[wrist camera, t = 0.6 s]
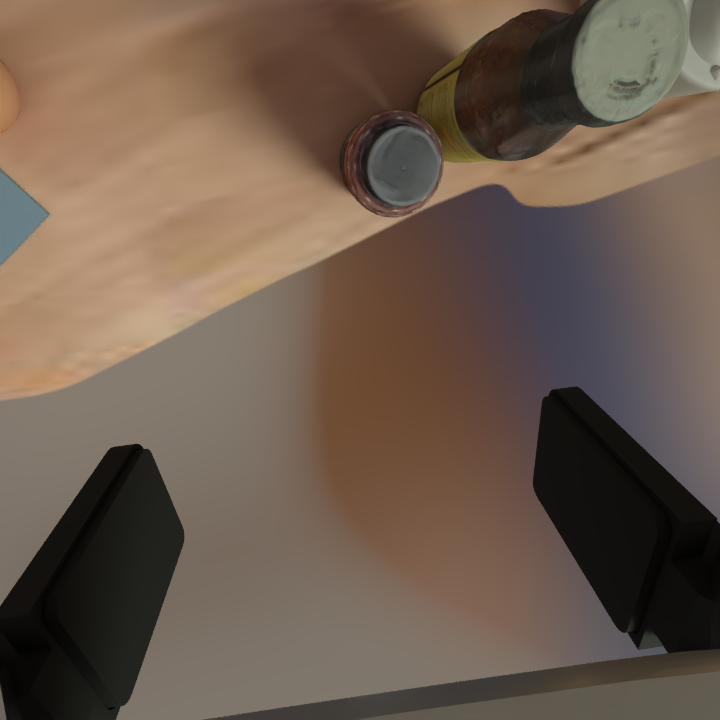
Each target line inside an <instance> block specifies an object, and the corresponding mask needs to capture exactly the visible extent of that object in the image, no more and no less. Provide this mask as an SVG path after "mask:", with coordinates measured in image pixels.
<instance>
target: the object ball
mask: <svg viewBox="0 0 720 720" xmlns="http://www.w3.org/2000/svg"><path fill="white" fill-rule="evenodd" d="M20 107H21V98H20V92H19V88H18V86H17V83H16V81H15V79H14V77H13V75H12V74H11V72H10V70H9V69H8V67H7V66H6V65H5V64H4V62H3V61H2V60H1V59H0V133H2V132H4V131H6V130H7V129H9V128H10V127H11V126H12V125H13V124H14V123H15V121H16V120H17V118H18V115H19V112H20Z"/></svg>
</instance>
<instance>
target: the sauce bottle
mask: <svg viewBox="0 0 720 720" xmlns="http://www.w3.org/2000/svg"><path fill="white" fill-rule="evenodd" d="M688 39H689V30H688V18H687V13H686V9H685V5H684V1H683V0H587V1H586V2H585V3H584V4H583V5H582V6H581V7H580V8H579V9H578V10H577V11H576V12H575V13H574V15H571V14H566V13H561V12H557V11H552V10H547V9H538V10H533V11H529V12H523V13H521V14H520V15H519V16H517V17H515V18H512V19H511V20H509V21H508V22H506V23H505V24H503V25H502V26H501V27H499V28H497V29H495V30H493V31H491V32H489V33H488V34H486V35H485V36H484V37H482V38H481V39H480V40H478V41H477V42H476V43H474V44H473V45H472V46H471V47H469V48H468V49H467V50H465V51H464V52H463V53H461V54H460V55H459V56H458V57H456V58H455V59H454V60H452V61H451V62H450V63H449V64H447V65H446V66H445V67H443V68H442V69H441V70H440V71H438V72H437V73H436V74H435V75H434V76H433V77H432V78H431V79H430V80H429V82H428V83H427V85H426V86H425V89H424V90H423V91H422V93H421V94H420V96H419V99H418V102H417V106H416V114H417V115H419V116H420V117H422V118H423V119H424V120H426V121H427V122H428V123H429V124H430V125H431V127H433V129H434V130H435V132H436V134H437V136H438V138H439V140H440V142H441V145H442V149H443V156H444V160H445V161H448V162H453V163H467V162H501V161H517V160H523V159H527V158H530V157H533V156H536V155H538V154H540V153H542V152H544V151H546V150H547V149H549V148H551V147H552V146H553V145H555V144H556V143H557V142H558V141H559V140H560V139H561V138H563V137H564V136H565V135H566V134H567V133H568V132H569V131H571V130H572V129H573V128H574V127H575V126H576V125H579V124H581V125H584V126H587V127H593V128H595V127H607V126H611V125H614V124H618V123H623V122H626V121H629V120H631V119H634V118H636V117H639V116H641V115H642V114H644V113H645V112H646V111H648V110H649V109H651V108H652V107H653V106H654V105H656V104H657V103H658V102H659V101H660V99H661V98H662V97H663V96H664V95H665V94H666V93H667V92H668V91H669V90H670V88H671V87H672V85H673V84H674V82H675V81H676V79H677V77H678V75H679V73H680V70H681V68H682V66H683V63H684V59H685V55H686V50H687V45H688Z"/></svg>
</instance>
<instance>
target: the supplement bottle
mask: <svg viewBox="0 0 720 720" xmlns="http://www.w3.org/2000/svg"><path fill="white" fill-rule="evenodd" d="M443 167H444V156H443V149H442V145H441V142H440V140H439V138H438V136H437V134H436V132H435V130H434V129H433V127H431V125H430V124H429V123H428V122H427V121H426V120H424V119H423V118H422V117H420V116H419V115H417V114H415V113H413V112H410V111H406V110H399V109H396V110H386V111H382V112H379V113H377V114H375V115H373V116H371V117H369V118H368V119H366V120H365V121H363V122H362V123H361V124H359V125H358V126H356V127H355V128H354V129H353V130H352V131H351V132H350V134H349V135H348V137H347V138H346V140H345V142H344V144H343V147H342V150H341V154H340V169H341V174H342V177H343V180H344V183H345V185H346V187H347V188H348V190H349V191H350V192H351V193H352V195H353V196H354V197H355V198H356V200H357V201H358V202H359V203H360V204H361V205H362V206H364V207H365V208H366V209H367V210H369V211H371V212H373V213H375V214H377V215H380V216H384V217H400V216H405V215H408V214H411V213H413V212H416V211H417V210H419V209H420V208H421V207H423V206H424V205H425V204H426V203H427V202H428V201H429V200H430V199H431V198H432V196H433V195H434V193H435V192H436V190H437V189H438V186H439V184H440V182H441V177H442V173H443Z"/></svg>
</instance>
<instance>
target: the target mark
mask: <svg viewBox="0 0 720 720" xmlns="http://www.w3.org/2000/svg"><path fill="white" fill-rule="evenodd" d="M49 215H50V214H49V213H48V212H47V211H46V210H45V209H44V208H43V207H42V206H41V205H39V204H38V203H37V202H36V201H35V200H34V199H33V198H32V197H31V196H30V195H28V194H27V193H26V192H25V191H24V190H23V189H22V188H21V187H20V186H19V185H17V184H16V183H15V182H14V181H13V180H12V179H11V178H10V177H9V176H8V175H6V174H5V173H4V172H3V171H2V170H1V169H0V266H1V265H2V264H3V263H4V262H5V261H6V260H7V259H8V258H9V257H10V255H11V254H12V253H13V252H14V251H15V250H16V249H17V248H18V247H19V246H20V245H21V244H22V243H23V242H24V241H25V240H26V239H27V238H28V237H29V236H30V235H31V234H32V233H33V232H34V231H35V230H36V228H37V227H38V226H39V225H40V224H41V223H42V222H43V221H44V220H45V219H46V218H47V217H48V216H49Z"/></svg>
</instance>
